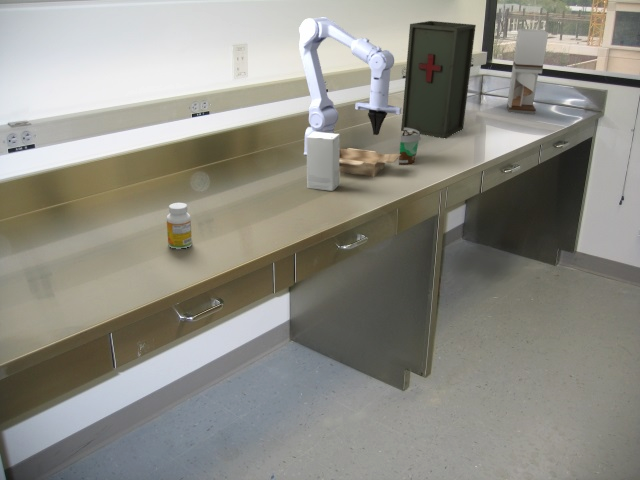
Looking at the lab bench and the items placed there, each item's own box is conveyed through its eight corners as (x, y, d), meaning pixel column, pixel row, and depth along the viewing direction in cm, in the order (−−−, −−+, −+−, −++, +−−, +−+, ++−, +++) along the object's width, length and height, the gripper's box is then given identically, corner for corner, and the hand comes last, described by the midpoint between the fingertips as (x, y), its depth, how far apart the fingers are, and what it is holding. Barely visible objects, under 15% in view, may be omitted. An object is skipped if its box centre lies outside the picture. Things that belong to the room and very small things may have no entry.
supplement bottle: (169, 240, 152) (167, 201, 149) (193, 240, 153) (191, 201, 149) (166, 250, 148) (164, 209, 144) (191, 250, 148) (188, 209, 144)
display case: (508, 112, 294) (521, 31, 280) (506, 107, 304) (518, 28, 290) (535, 114, 292) (548, 32, 278) (532, 109, 302) (544, 30, 288)
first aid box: (463, 129, 262) (475, 24, 246) (445, 138, 247) (457, 28, 231) (420, 122, 271) (430, 20, 255) (401, 130, 256) (410, 23, 240)
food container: (417, 167, 212) (420, 137, 208) (398, 166, 213) (400, 136, 209) (419, 157, 223) (422, 128, 219) (401, 155, 224) (404, 127, 220)
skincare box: (339, 185, 193) (341, 133, 187) (332, 192, 187) (334, 139, 181) (312, 181, 195) (314, 130, 189) (305, 188, 190) (306, 135, 183)
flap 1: (334, 158, 204) (328, 161, 199) (334, 157, 203) (329, 160, 199) (365, 163, 200) (360, 165, 196) (365, 161, 200) (360, 164, 196)
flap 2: (377, 161, 201) (393, 161, 199) (385, 154, 209) (400, 153, 207) (377, 162, 201) (393, 162, 199) (385, 155, 209) (401, 155, 207)
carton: (325, 169, 207) (325, 156, 205) (341, 157, 220) (341, 144, 218) (373, 176, 202) (374, 163, 200) (387, 163, 215) (388, 150, 213)
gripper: (353, 91, 202) (350, 134, 208) (398, 96, 198) (394, 140, 203) (360, 87, 208) (357, 129, 214) (404, 92, 204) (400, 134, 209)
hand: (376, 134), depth 209 cm, fingers closed
